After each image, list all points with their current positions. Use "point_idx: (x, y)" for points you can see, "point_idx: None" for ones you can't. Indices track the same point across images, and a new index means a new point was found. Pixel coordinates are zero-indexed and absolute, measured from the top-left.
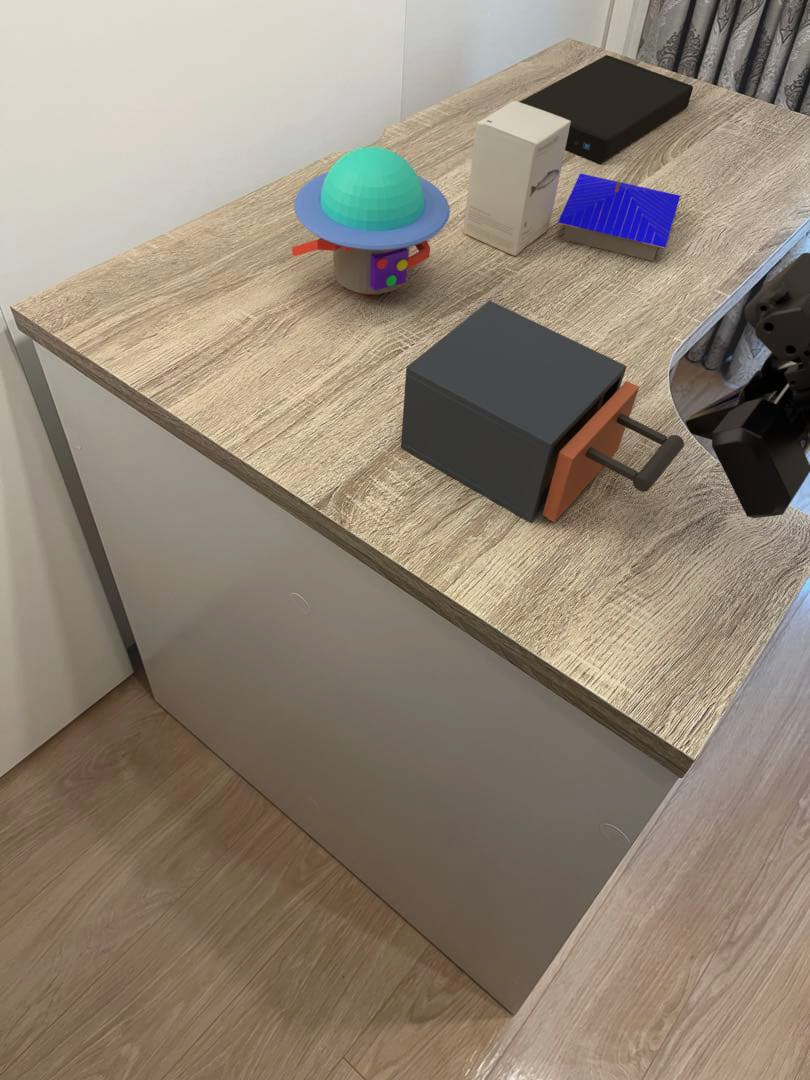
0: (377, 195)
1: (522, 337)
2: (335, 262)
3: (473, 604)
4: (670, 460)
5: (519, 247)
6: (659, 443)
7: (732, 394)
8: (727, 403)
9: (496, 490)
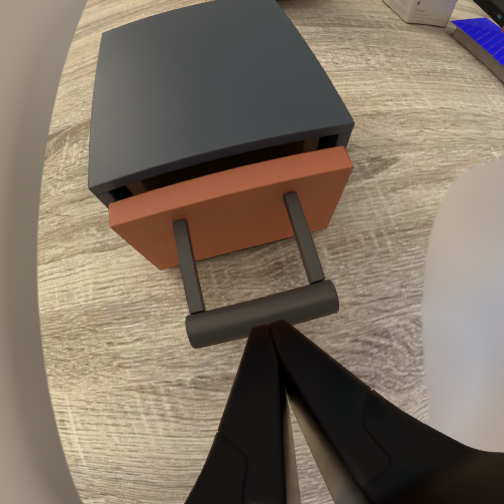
0: None
1: (252, 29)
2: None
3: (42, 294)
4: None
5: (411, 18)
6: (308, 279)
7: (343, 415)
8: (256, 453)
9: None
